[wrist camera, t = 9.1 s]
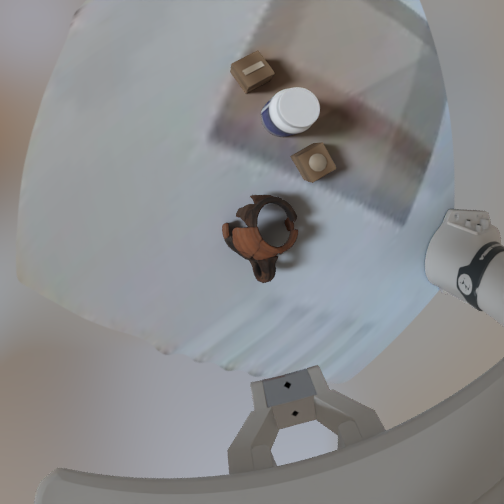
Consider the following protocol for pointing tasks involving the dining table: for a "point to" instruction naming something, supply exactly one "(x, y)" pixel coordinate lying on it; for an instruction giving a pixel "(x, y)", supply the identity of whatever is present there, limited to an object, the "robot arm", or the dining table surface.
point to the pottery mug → (259, 237)
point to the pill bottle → (290, 112)
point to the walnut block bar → (251, 71)
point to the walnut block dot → (313, 162)
